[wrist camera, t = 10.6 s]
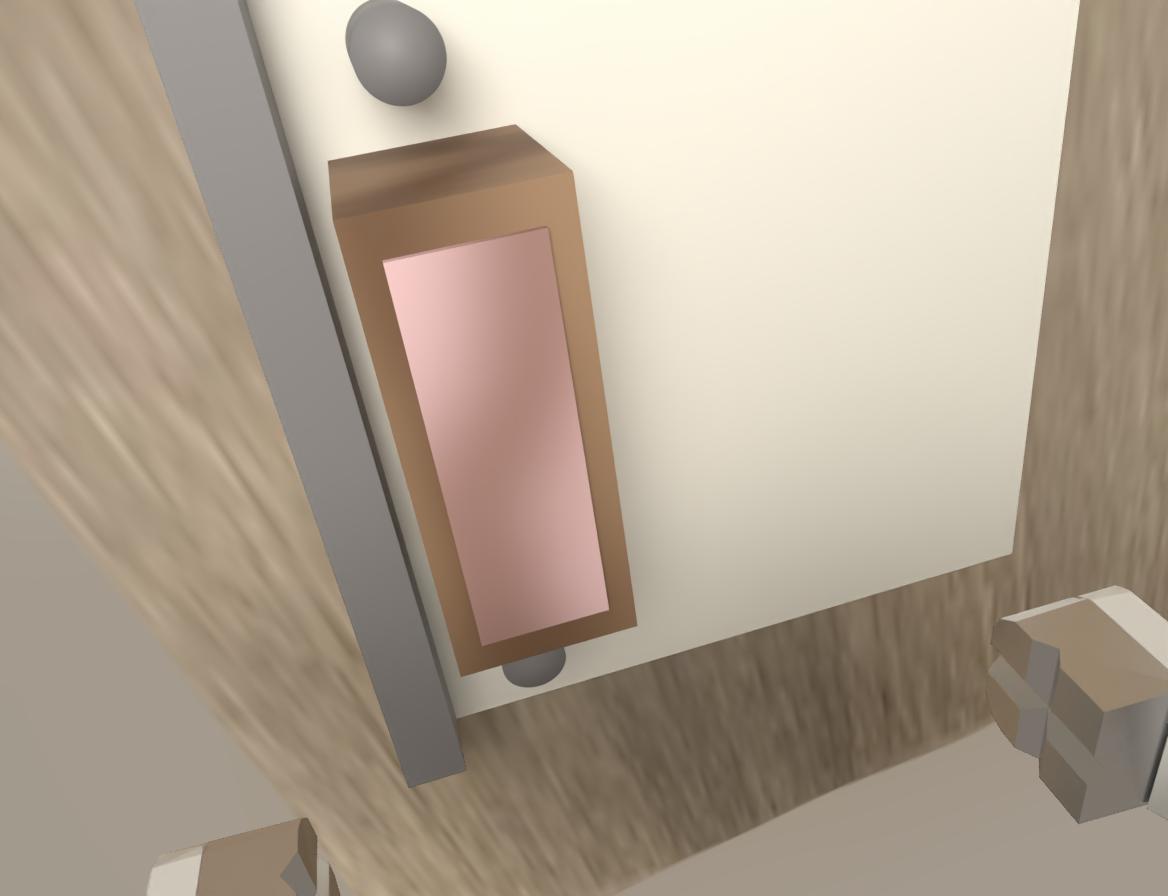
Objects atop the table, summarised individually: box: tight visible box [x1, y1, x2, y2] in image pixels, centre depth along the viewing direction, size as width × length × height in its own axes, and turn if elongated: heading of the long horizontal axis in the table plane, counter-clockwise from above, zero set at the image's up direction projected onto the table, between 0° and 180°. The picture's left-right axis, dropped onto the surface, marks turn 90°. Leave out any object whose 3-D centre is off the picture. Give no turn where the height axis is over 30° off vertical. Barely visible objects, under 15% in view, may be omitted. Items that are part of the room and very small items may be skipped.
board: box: [134, 0, 1080, 788], centre depth 21 cm, size 20×26×4 cm
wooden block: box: [328, 124, 638, 677], centre depth 19 cm, size 4×10×5 cm, turn 8°
